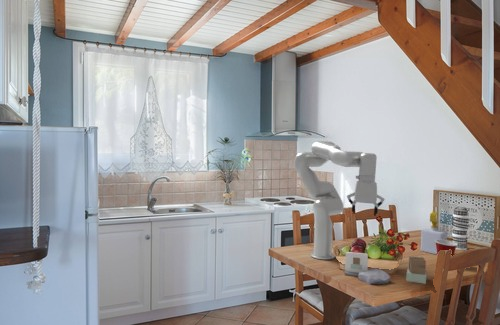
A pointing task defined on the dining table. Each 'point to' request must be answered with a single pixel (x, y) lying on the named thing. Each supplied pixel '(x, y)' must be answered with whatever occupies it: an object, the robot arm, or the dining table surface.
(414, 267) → the walnut block
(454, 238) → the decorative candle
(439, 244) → the plastic cup
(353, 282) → the dining table surface
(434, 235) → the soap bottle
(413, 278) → the sage block
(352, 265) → the picture card
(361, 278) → the stone block
